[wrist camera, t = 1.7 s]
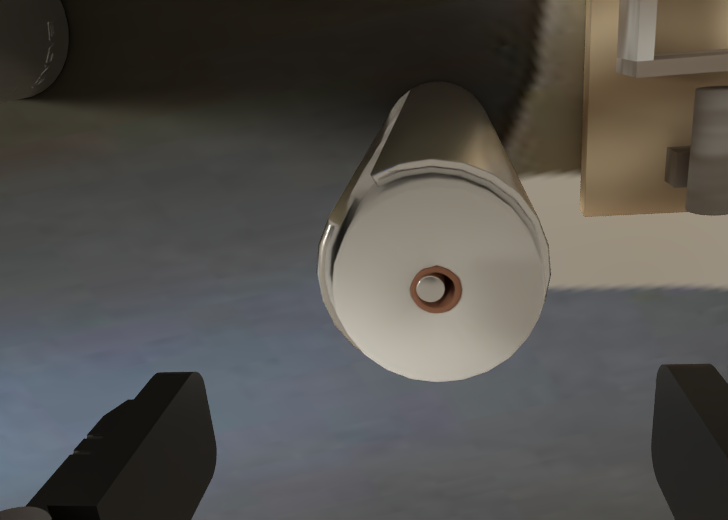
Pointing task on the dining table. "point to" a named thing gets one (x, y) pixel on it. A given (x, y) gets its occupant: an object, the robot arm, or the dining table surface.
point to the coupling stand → (655, 107)
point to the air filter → (435, 244)
